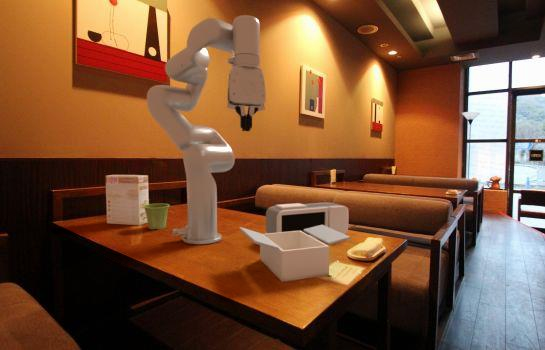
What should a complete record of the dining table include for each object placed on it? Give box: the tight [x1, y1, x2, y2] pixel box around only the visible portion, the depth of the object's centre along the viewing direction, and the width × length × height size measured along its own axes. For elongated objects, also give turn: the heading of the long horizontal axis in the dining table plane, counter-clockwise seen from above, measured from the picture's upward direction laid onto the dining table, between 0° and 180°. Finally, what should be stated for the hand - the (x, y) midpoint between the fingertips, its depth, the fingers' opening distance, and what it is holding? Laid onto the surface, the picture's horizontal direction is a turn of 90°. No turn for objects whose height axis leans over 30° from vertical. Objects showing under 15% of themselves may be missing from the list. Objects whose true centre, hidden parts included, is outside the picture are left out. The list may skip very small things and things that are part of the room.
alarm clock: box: [265, 201, 350, 240], centre depth 108 cm, size 27×9×12 cm, turn 115°
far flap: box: [304, 225, 352, 246], centre depth 84 cm, size 6×14×1 cm, turn 20°
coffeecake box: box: [105, 174, 150, 226], centre depth 129 cm, size 15×7×20 cm, turn 77°
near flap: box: [238, 226, 279, 250], centre depth 77 cm, size 6×14×1 cm, turn 21°
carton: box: [259, 231, 330, 283], centre depth 81 cm, size 12×16×7 cm
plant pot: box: [143, 203, 171, 230], centre depth 121 cm, size 9×9×9 cm
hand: (246, 130), depth 90 cm, fingers closed
